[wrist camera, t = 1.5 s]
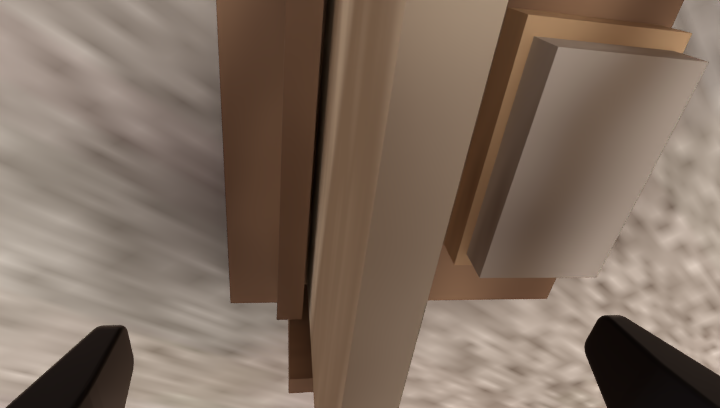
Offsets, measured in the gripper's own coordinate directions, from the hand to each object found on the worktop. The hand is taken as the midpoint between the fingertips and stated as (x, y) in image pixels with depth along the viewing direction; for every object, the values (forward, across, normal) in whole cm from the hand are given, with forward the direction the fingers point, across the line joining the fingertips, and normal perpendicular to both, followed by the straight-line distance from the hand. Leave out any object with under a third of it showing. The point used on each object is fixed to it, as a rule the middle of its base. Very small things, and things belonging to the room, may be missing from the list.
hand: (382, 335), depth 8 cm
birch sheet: (+10, 0, 0) cm, 10 cm away
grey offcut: (+8, -8, 0) cm, 12 cm away
